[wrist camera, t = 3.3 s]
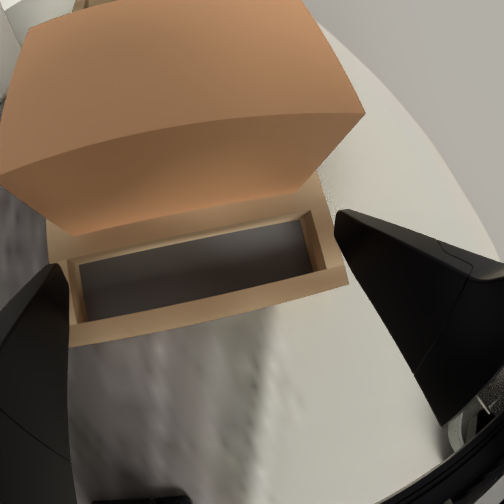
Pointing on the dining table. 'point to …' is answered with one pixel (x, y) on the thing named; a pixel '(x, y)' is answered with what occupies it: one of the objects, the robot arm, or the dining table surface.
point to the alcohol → (7, 54)
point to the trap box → (196, 262)
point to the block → (170, 109)
